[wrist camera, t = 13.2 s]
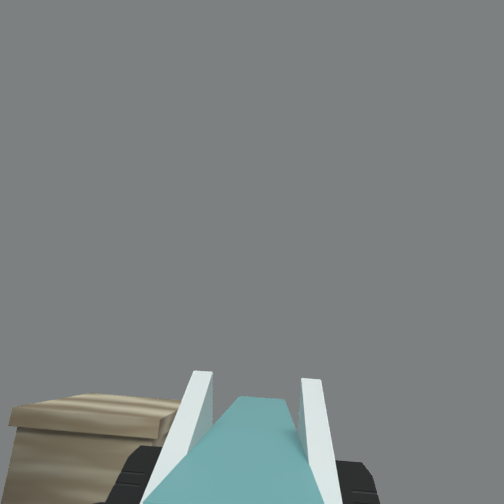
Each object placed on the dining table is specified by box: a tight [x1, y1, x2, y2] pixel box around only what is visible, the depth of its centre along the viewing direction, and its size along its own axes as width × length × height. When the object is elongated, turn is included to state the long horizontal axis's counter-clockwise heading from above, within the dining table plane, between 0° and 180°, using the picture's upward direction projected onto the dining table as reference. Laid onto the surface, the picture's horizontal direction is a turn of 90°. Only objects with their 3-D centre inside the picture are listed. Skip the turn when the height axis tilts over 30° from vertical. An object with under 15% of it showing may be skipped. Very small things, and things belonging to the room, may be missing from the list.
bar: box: [143, 396, 324, 504], centre depth 18 cm, size 24×4×4 cm, turn 177°
